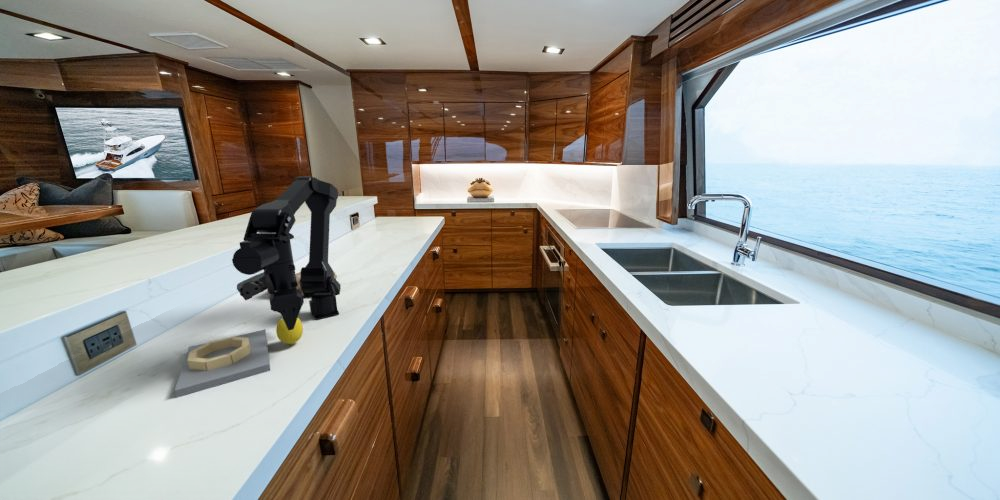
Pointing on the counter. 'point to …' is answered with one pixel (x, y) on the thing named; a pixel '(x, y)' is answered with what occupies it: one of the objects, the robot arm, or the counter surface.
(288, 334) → the lemon
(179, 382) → the plate
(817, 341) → the counter surface
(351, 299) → the counter surface
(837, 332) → the counter surface
